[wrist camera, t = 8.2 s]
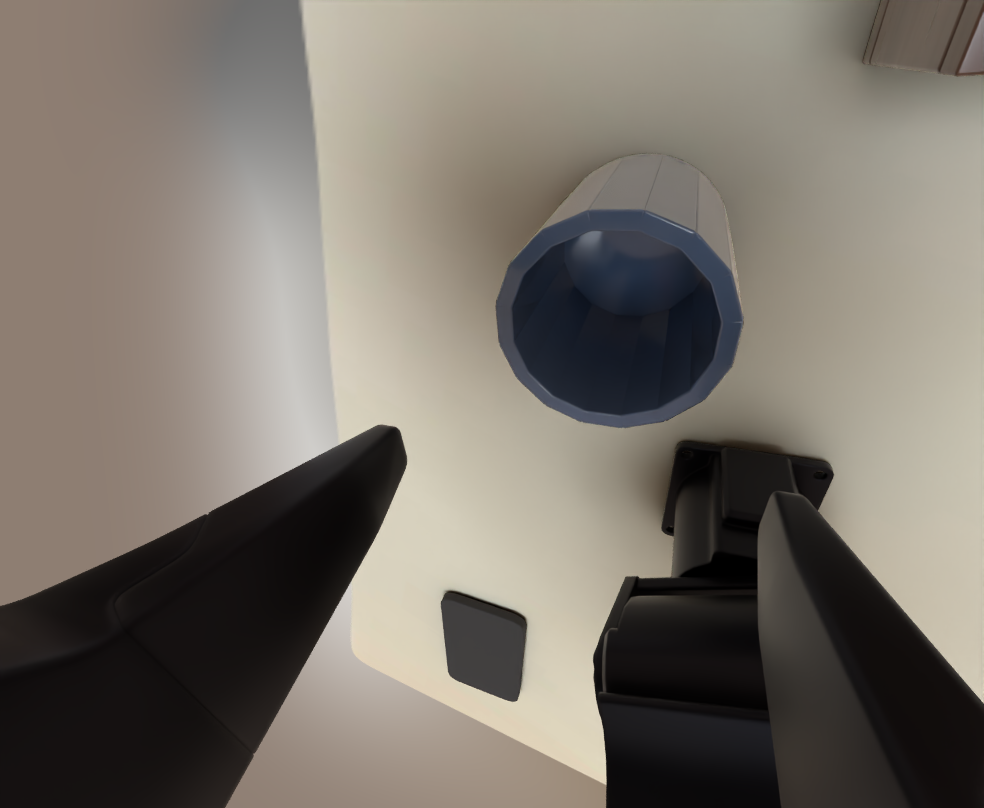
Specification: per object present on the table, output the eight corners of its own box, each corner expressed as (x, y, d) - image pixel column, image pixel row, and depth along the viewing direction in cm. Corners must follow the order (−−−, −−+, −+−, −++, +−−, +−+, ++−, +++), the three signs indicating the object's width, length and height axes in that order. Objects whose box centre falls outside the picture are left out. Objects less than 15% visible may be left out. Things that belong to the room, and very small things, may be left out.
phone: (525, 626, 37) (518, 705, 46) (528, 616, 37) (520, 696, 46) (439, 596, 38) (448, 677, 48) (443, 587, 39) (451, 669, 48)
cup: (710, 325, 19) (714, 442, 14) (556, 314, 21) (504, 412, 16) (746, 149, 15) (772, 209, 10) (555, 156, 17) (486, 209, 12)
